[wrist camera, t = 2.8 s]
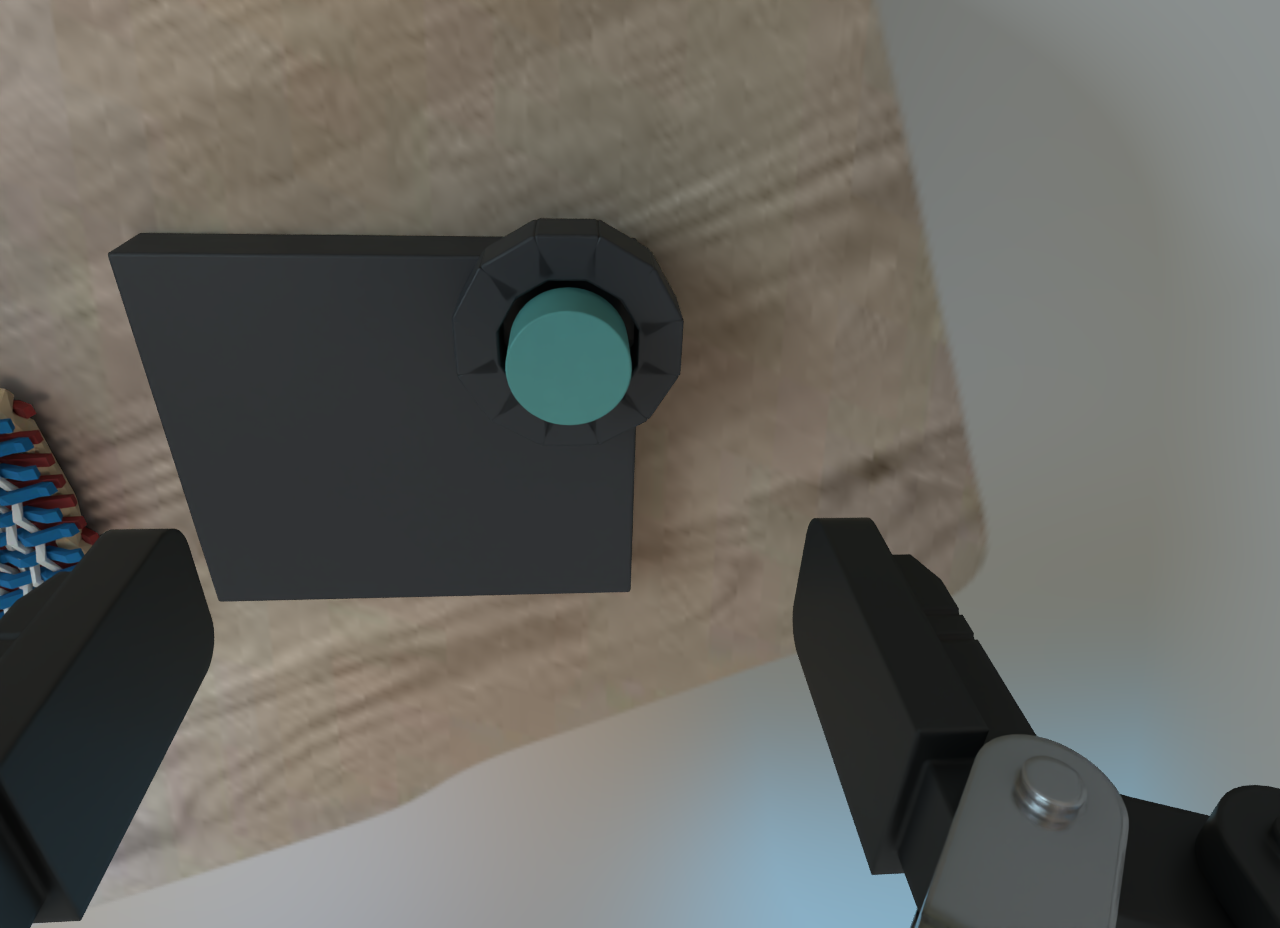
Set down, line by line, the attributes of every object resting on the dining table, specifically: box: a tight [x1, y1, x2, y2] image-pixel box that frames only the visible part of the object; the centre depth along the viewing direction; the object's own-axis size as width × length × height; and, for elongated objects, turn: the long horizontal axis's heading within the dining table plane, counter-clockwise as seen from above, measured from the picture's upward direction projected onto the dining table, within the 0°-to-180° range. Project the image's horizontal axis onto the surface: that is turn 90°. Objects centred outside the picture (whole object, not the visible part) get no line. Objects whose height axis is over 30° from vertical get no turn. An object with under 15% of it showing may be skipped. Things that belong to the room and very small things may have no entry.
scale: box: [108, 218, 684, 601], centre depth 25 cm, size 15×13×4 cm
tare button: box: [505, 287, 632, 425], centre depth 21 cm, size 3×3×2 cm
